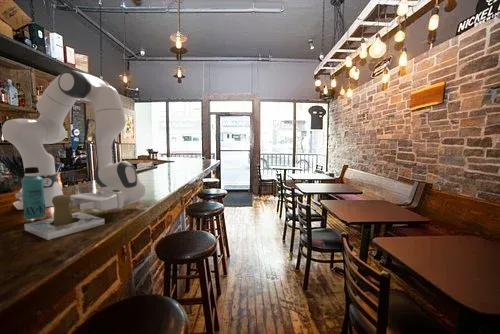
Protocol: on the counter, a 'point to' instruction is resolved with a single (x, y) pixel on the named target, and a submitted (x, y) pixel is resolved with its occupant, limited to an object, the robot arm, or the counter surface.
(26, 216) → the beverage bottle
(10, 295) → the counter surface
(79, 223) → the jig plate
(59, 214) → the olive peg doll
